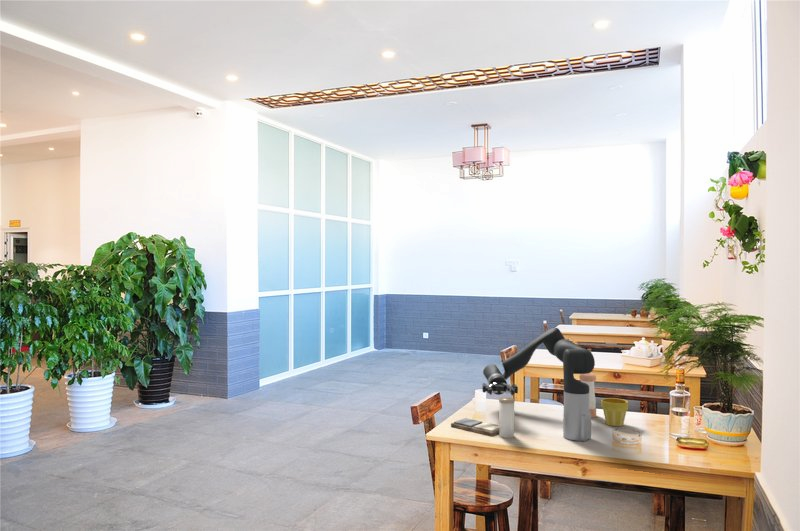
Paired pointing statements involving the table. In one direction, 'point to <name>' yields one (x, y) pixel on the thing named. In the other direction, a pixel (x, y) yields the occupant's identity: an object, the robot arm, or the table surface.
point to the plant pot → (614, 411)
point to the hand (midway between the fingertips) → (501, 392)
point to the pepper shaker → (590, 391)
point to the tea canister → (506, 417)
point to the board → (476, 426)
